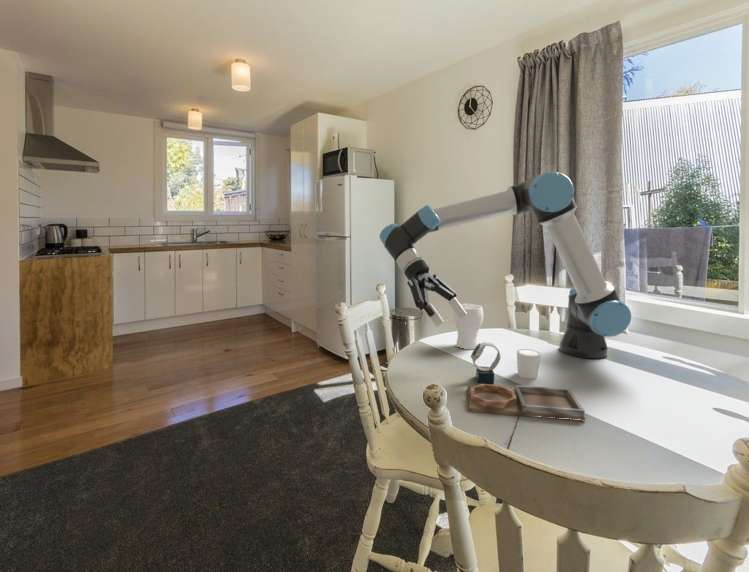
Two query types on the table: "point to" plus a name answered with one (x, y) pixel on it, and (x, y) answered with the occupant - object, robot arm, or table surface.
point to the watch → (484, 373)
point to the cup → (468, 326)
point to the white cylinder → (528, 363)
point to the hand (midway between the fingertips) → (452, 320)
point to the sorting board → (524, 401)
